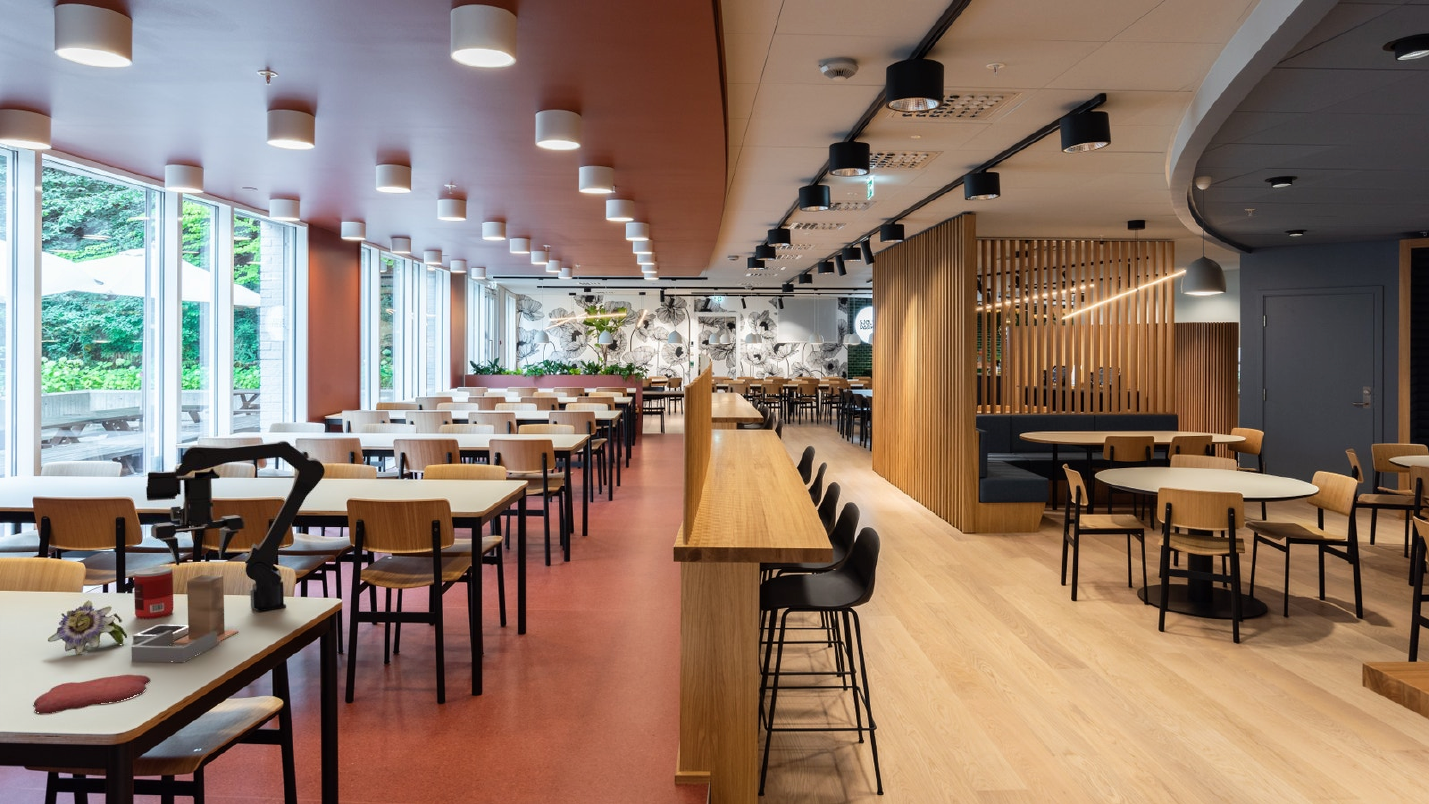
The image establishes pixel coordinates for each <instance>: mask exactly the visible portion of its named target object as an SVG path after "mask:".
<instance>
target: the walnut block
mask: <svg viewBox="0 0 1429 804" xmlns="http://www.w3.org/2000/svg"><path fill="white" fill-rule="evenodd" d="M224 587H225V586H224V575H203V574H202V575H199V576H197V577H194V578H192V579H189V580H186V590H187V593H186V595H187V596H186V597H187V625H188V634H187V636H188V639H192V640H196V639H198V638H200V637H202V636H204V635H206V634H208V633H211V632H217V636H219V635H221V634H223V633H225V630H226V629H225V593H224V591H225V589H224Z"/></svg>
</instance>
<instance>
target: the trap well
mask: <svg viewBox="0 0 1429 804" xmlns="http://www.w3.org/2000/svg"><path fill="white" fill-rule="evenodd" d="M168 630H173V640H174V641H176V640H178V639H180V638H182V637H185V636H187V635H188V624H163V623H162V624H160V623H158V624H157V625H154V626H152V627H149V628H147V629H144V630H142V631H140V632H137V633H136V634H134V635H132V641H133V642H132V643H141V642H144V641H146V640H148V639H150V638H152V637H155V636H157V635H159V634H161V633H164V632H166V631H168ZM186 634H187V635H186ZM184 635H185V636H184ZM181 636H182V637H181ZM179 637H180V638H179ZM177 638H178V639H177ZM175 639H176V640H175Z"/></svg>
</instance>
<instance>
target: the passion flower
mask: <svg viewBox="0 0 1429 804" xmlns="http://www.w3.org/2000/svg"><path fill="white" fill-rule="evenodd" d="M93 605H94V604H93V601H90V600H86V601H85V602H84V604H83V605H82V606H79V607H78V608H75V610H74V609H73V610H72V609H71V610H68V611H66V614H65V613H61V614H60V615H61V616H62V617H61V620H60V621H59V622H58V625H59V627H57V630H56V632H55V633H54V634H52V635H51V636H50V637H47V638H48V639H47V642H49V643H51V642H53V643H54V642H57V641H60V640H62V641H63V642H65V644H64V651H65V652H69V651H71V650H74V652H75V655H76V656H78V655H81V654H82V653H83V651H85V648H86V645H87V644H89V645H90V646H91V647H93V648H97V647H99V645H100V643H101V639H100V638H101V635H102V633H103V634H104V633H105V634H106V633H107V634H109V635H110V636H111V638H112V639H114V641H115V643H116V644H117V645H120V644H122V645H123V643H124V638H125V639H127V638H128V635H127V633H126V631H125V630H124V628H123V627H122V626H120V625H119V624H117V623H116V622H114V621H115V620H116V619H117V620H118V622H119V623H122V622H123V619H122V618H121V617H120V615H119V614H118V613H114V614H111V615H110V616H106V615H108V614H109V613H110V612H111V611H112V609H113V608H112V606H111V605H108V606H105V607H102V608H100V609H96V610H95V608H93V607H94V606H93ZM123 636H124V637H123Z"/></svg>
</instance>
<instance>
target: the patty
mask: <svg viewBox="0 0 1429 804" xmlns="http://www.w3.org/2000/svg"><path fill="white" fill-rule="evenodd" d="M149 681H150V682H151V679H150V677H148V676H147V675H143V674H138V675H137V674H121V675H115V676H114V675H113V676H106V677H101V678H95V679H92V680H86V681H81V682H74V681H73V682H66V683H61V684H59V685H56V686H54V687H52V688H50V689H49V691H48V692H47V691H46V692H45V693H43V694H41V695H40V696H38V697H37V698H36V699H35V700H34V701H33V703H34V705H35V706H36V707H35V706H34V705H33V706H34V707H35V708H34V712H35V711H36V712H39V713H49V714H53V713H52V712H55V713H57V712H56V711H60V712H63V711H66V710H72V709H81V708H85V706H86V707H88V705H89V706H93V705H92V704H100V705H102V704H101V703H109V702H117V701H121V700H124V699H127V698H130V697H133V696H134V695H137V694H140V693H142V692H143V691H144V690H145V689H146V690H147V687H146V685H147V684H146V683H148V682H149ZM150 682H149V683H150ZM149 683H148V684H149ZM145 684H146V685H145ZM117 703H118V702H117Z"/></svg>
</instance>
